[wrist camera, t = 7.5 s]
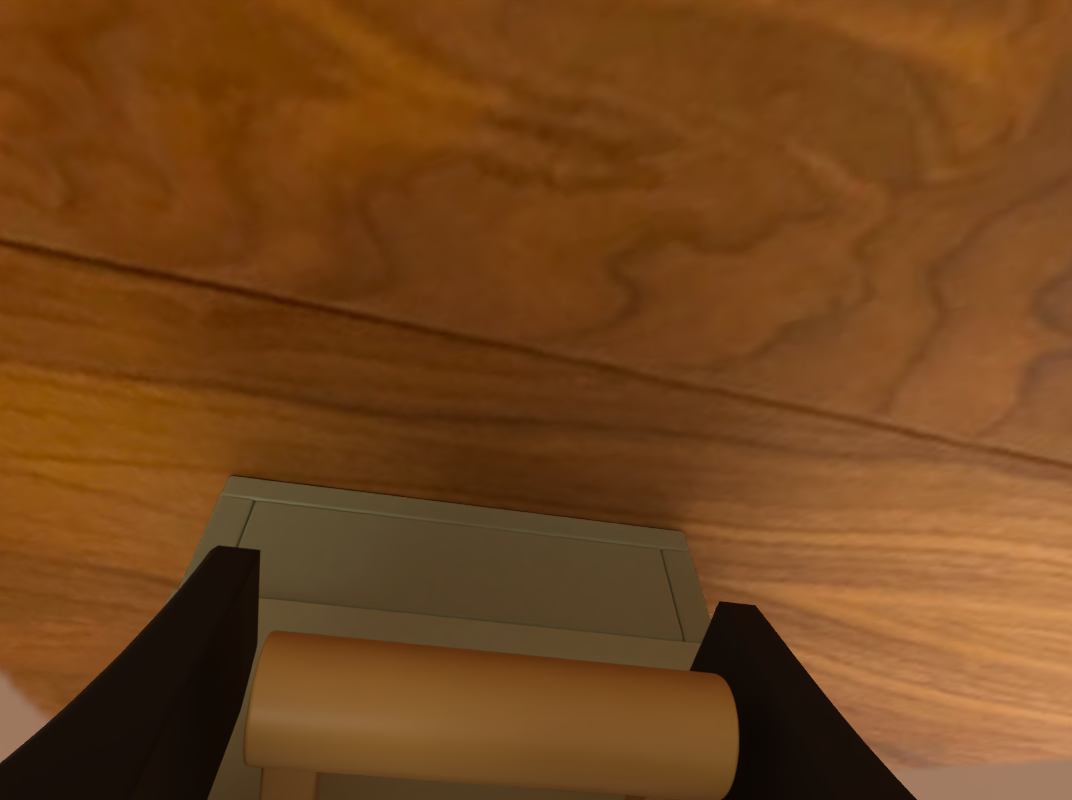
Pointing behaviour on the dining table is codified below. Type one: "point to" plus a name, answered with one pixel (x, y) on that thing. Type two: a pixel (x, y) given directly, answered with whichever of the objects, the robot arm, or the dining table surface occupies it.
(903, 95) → the dining table surface
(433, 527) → the box
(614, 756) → the lid
